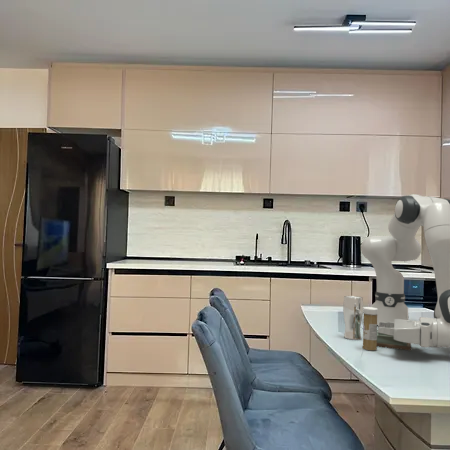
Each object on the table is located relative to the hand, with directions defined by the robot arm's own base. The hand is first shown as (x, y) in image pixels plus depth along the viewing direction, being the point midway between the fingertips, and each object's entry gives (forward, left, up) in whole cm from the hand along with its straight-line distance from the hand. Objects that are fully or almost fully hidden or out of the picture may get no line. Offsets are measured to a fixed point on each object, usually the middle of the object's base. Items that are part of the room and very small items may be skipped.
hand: (378, 327), depth 137 cm
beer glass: (-15, -9, -8) cm, 19 cm away
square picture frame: (-12, +3, -7) cm, 14 cm away
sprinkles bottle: (0, -3, -8) cm, 8 cm away
